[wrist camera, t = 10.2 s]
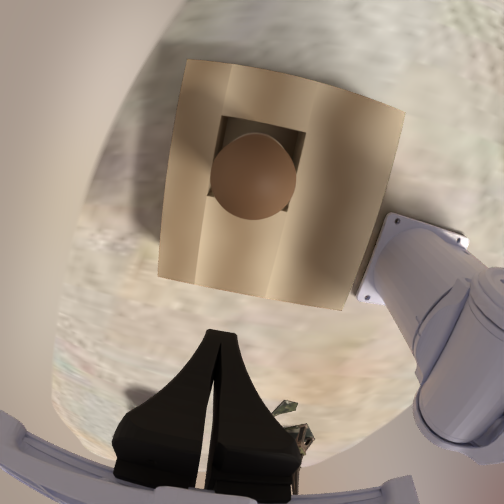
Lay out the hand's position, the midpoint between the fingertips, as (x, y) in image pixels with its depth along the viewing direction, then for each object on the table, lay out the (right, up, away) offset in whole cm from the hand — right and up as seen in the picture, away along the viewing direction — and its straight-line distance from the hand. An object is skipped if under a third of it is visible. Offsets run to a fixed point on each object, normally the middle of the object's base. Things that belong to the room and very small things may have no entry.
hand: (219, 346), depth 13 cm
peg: (+2, +11, +6) cm, 12 cm away
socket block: (+3, +9, +7) cm, 12 cm away
